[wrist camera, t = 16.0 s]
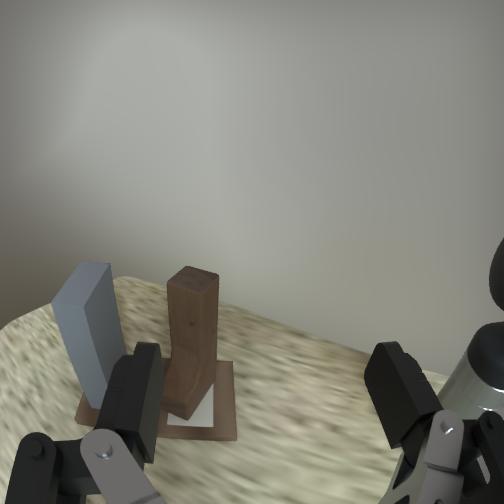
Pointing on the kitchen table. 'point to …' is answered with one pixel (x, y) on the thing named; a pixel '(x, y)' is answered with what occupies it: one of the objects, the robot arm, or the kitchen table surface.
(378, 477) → the kitchen table surface
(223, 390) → the base board
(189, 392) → the wooden block
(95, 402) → the slate post
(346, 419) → the kitchen table surface
